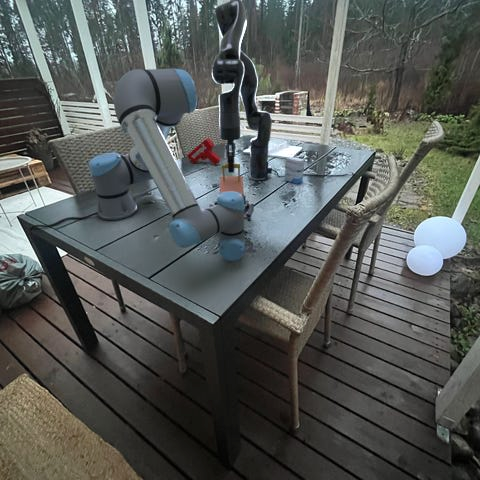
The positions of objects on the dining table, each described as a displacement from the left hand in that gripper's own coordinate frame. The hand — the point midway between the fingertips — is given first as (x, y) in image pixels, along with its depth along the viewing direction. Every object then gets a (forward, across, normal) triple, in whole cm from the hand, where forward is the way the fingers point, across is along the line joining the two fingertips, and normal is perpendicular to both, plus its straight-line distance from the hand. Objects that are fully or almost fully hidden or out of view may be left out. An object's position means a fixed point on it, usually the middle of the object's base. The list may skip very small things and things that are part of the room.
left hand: (231, 198), depth 110 cm
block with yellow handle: (+2, 0, +4) cm, 5 cm away
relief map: (+95, +30, -6) cm, 100 cm away
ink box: (+35, +32, -6) cm, 48 cm away
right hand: (+4, 0, +10) cm, 11 cm away
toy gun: (+69, -18, -6) cm, 71 cm away
